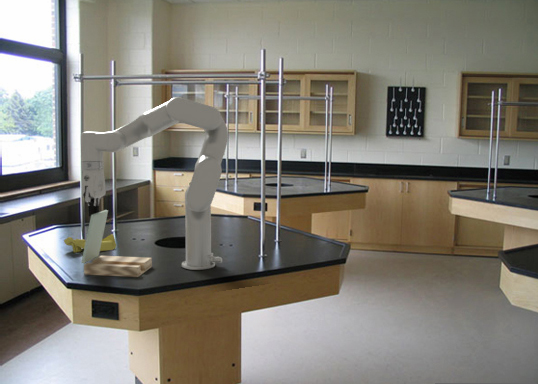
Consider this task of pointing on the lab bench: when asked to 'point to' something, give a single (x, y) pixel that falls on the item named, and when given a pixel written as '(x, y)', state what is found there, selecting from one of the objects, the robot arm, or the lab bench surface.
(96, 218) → the plate
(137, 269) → the base
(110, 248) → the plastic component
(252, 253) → the lab bench surface
